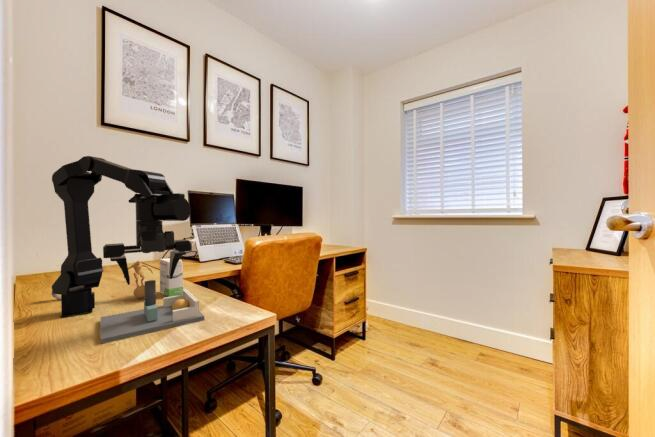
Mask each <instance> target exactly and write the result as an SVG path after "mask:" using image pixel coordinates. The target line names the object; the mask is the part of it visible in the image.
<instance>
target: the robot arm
mask: <svg viewBox="0 0 655 437" xmlns="http://www.w3.org/2000/svg"><path fill="white" fill-rule="evenodd" d="M102 177H106V178H109V179H111V180H113V181H114V180H115V181H118V182H120V183H122V184H124V186H125V187H126V188H127V189H129V190H130V191H131V192H134V195H133V196H132V197H131V198H129V199H128V203H131V204H135V239H136V241H135V242H136V243H135V245H134V244H133V245H125V244H124V243H123V242H121V243H107V244H105V245H103V247H102V254H103V256H102V257H103V259H110V262H116V263H117V265H118V266H119V268H120V269H121V272H122V274H123V278H124V277H125V278H124V279H125V281H126V284H127V285H128V286H129V285H130V283H131V282H130V281H131V278H130V274H129V269H128V267H129V266H128V262H127V260H128V259H127V257H126V254H132V253H133V254H134V253H135V254H136V253H143V254H150V253H156V252H159V253H163V252H165V251H170V252H169V253H170V254H169V255H170V256H169V258H170V266H169V277H170V279H172V277H173V274H174V271H175V269H176V266H177V263H178V261H179V260H181V258H182V257H183V256H186V255H187V252H192V251H193V244H192V242H191V241H190V240H188V239H175V232H174V231H173V230H168V231H164V229H163V221H164V222H169V221H170V222H174V221H175V222H183V221H186V220H188V219H189V217H190V216H191V212H192V207H191V206H190V202H189V201H188V199H186V198H185V197H186V196H185V193H180V192H179V193H174V192H173V190H172V188H171V187H170V185H169V184H168V183H167V181H166V178H165V177H166V176H164V174H162V173H159V172H153V171H148V170H147V171H146V170H143V169H141V170H140V169H133V168H130V167H127V166H124V165H120V164H117V163H115V162H112V161H108V160H107V159H105V158H102V157H97V156H91V155H86V156H82V157H81V158H80V159H79V160H76V161H73V162H70V163H65V164H64V165H62V166H61V167H60V168H57V170H56V171H55V172H53V174H52V175H51V182H52V185H53V189H54V193H55V194H56V195H57V196H58V197H59V199H61V201H62V202H63V207H64V210H63V211H64V221H65V231H66V232H65V233H66V244H67V256H66V258H65V259H64V260H63V262H62V264H61V265H60V275H59V276H58V278H57V279H56V280H55V282H53V284H52V285H51V292H52V291H53V294H57V295H60V297H61V300H60V302H61V304H60V305H61V307H60V308H61V310H60V312H61V313H60V316H59V317H60V318H67V317H72V316H78V315H79V316H80V315H85V314H89V313H93V309H95V307H96V304H95V303H96V302H95V301H96V299H95V298H96V297H95V294H96V293H95V291H93V289H94V288H98V287H99V286H100V283H101V280H102V276H103V272H104V268H103V259H102V257H97V256H96V255H95V254H94V253H93V247H92V236H91V235H92V234H91V224H90V212H89V200H90V199H91V198H92V197H93V195H94V194H95V187H96V186H95V185H97V184H99V183H100V182H102Z"/></svg>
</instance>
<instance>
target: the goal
mask: <svg viewBox="0 0 655 437" xmlns="http://www.w3.org/2000/svg"><path fill="white" fill-rule="evenodd" d="M182 291H183V294H180V295H175V296H171V297H168V296H166V297H163V298H162V299H163V302H162V304H163V305H162V306H163V307H169V306H172V305H173V303H174V302H175V301H176V300H179V299H184V300H186V301H187V302H188V305H189V307H187V308H182V309H177V310H172V315H173V322H174V321H178V320H183V319H187V318H192V317H196V316H199V311H200V300H199V299H198V298H197V297H196V296H194V295H193V294H192V293H191V292H190V291H189V290H188V289H187V288H183V290H182Z"/></svg>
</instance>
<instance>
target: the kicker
mask: <svg viewBox="0 0 655 437" xmlns="http://www.w3.org/2000/svg"><path fill="white" fill-rule="evenodd" d="M156 281H157V280H155V279H152V280H151V279H150V280H145V281H144V286H145V297H144V301H143V309H144V313H145V316H146V318H147V320H148V322H149V321H153V320H158V316H157V307H158V306H157V305H156V304H157V298H156V296H157V294H156V293H157V292H156V291H157V287H156Z"/></svg>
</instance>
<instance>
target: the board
mask: <svg viewBox="0 0 655 437" xmlns="http://www.w3.org/2000/svg"><path fill="white" fill-rule="evenodd" d="M157 316H158V320H153V321H149V322H148V320H147V318H146V316H145V313H144V308H143V309H137V310H132V311H127V312H121V313H116V314H110V315H103V316H100V344H107V343H111V342H115V341H119V340H123V339H127V338H132V337H136V336H141V335H145V334H149V333H154V332H158V331H159V332H160V331H162V330H166V329H171V328H175V327H180V326H184V325H189V324H193V323H197V322H200V321H204V320H205V315H204V314H203V313H202V312H201V311H200V310H199V316H196V317H192V318H187V319H183V320H178V321H174V322H173V315H172V306H169V307H163V305H158V306H157Z"/></svg>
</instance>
